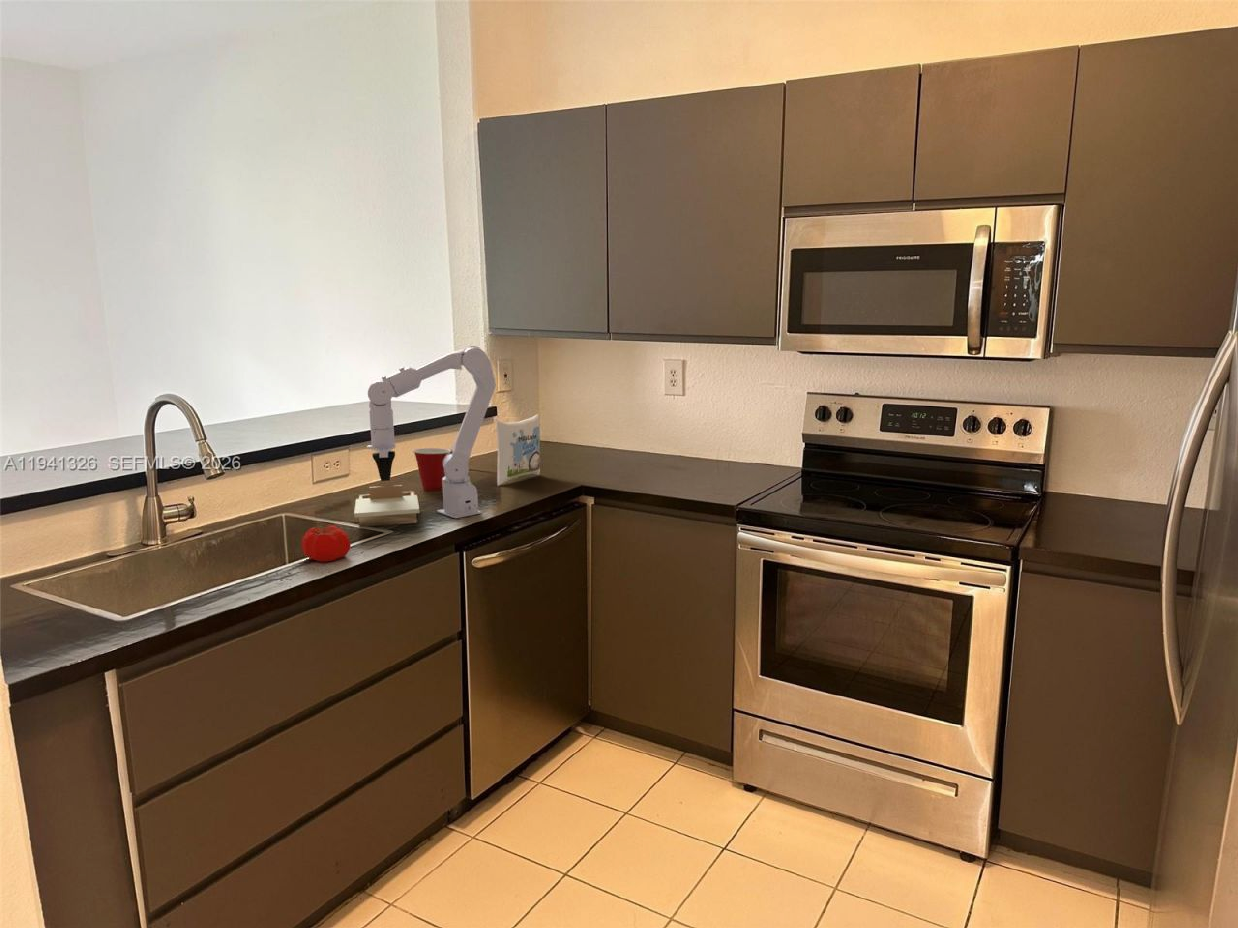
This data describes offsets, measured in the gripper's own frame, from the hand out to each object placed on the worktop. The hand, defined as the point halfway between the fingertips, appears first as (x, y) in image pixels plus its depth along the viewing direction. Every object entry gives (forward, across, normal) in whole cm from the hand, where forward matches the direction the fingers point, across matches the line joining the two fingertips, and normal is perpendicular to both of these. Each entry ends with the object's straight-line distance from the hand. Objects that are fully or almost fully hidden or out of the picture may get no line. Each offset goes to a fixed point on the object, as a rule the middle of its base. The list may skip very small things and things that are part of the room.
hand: (385, 480), depth 222 cm
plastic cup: (+10, -31, +13) cm, 35 cm away
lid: (+5, +11, 0) cm, 12 cm away
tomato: (+10, +32, -13) cm, 36 cm away
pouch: (+10, -34, +40) cm, 53 cm away
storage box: (+10, 0, 0) cm, 10 cm away
